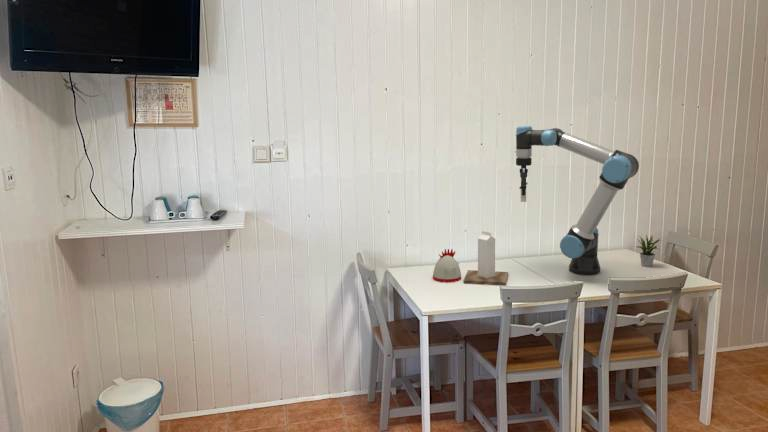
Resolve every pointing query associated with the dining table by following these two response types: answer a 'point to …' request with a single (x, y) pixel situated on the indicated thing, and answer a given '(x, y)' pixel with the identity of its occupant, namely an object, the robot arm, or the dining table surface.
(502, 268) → the dining table surface
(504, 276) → the walnut board
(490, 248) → the milk
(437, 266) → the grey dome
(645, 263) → the house plant
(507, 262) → the dining table surface
